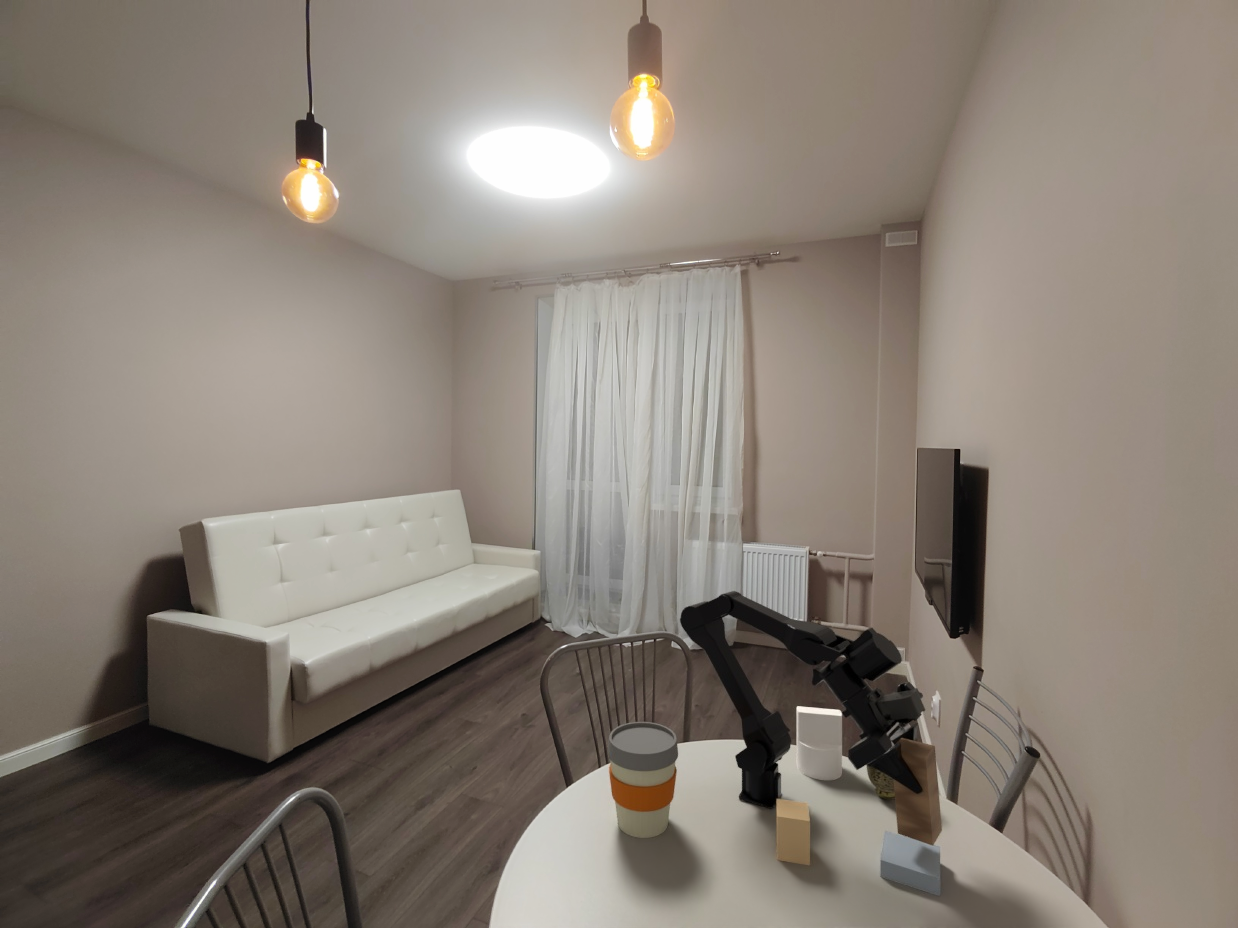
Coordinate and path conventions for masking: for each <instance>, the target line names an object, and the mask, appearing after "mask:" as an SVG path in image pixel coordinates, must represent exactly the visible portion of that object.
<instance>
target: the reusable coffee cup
mask: <svg viewBox="0 0 1238 928" xmlns="http://www.w3.org/2000/svg"><path fill="white" fill-rule="evenodd" d="M607 757H608V759H609V761H610V764H609V767H608V773H609V782H610V790H611V796H612V798H613V800H614V802H615V803H614V804H615V810H616V811H615V812H616V819H617V825H618V828H619V829H620V830H621V831H622V832H623V833H624V834H626V835H628V836H631V837H634V838H637V839H638V838H639V839H649V838H653V837H654V838H655V837H658V836H659V835H661V834H663V833H664V832H665V831H666V829H667V828H668V824H669V817H670V808H671V807H670V806H671V803H672V802H673V800H674V797H675V787H676V779H677V778H676V777H677V770H678V769H677V767H676V761H677V759H678V757H679V747H678V739H677V735H676V732H674V731H673V729H671V728H669V727H668V726H666V725H662V724H660V723H656V722H650V721H633V722H627V723H624V724H620V725H618V726H617V727H615V728H613V729H612V730H611V731H610V734H609V736H608V745H607Z"/></svg>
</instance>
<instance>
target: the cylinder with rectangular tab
mask: <svg viewBox="0 0 1238 928" xmlns="http://www.w3.org/2000/svg"><path fill="white" fill-rule="evenodd" d="M796 768H797V770H798V771H799V773H801V774H803V775H804V776H806V777H808V778H811V779H815V780H819V781H835V780H837V779H839V778H840V777H842V775H843V714H842V711H841V710H840V709H833V708H821V707H810V706H809V707H808V706H801V705H800V706H798V705H797V706H796Z"/></svg>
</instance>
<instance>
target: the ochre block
mask: <svg viewBox="0 0 1238 928" xmlns="http://www.w3.org/2000/svg"><path fill="white" fill-rule="evenodd" d="M809 811H810V810H809V803H808V802H803V801H795V800H789V799H784V798H783V799H781V798H779V799H777V801H776V860H777V861H782V862H786V863H787V862H788V863H794V864H800V865H805V866H811V821H810V820H811V819H810V812H809Z"/></svg>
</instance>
